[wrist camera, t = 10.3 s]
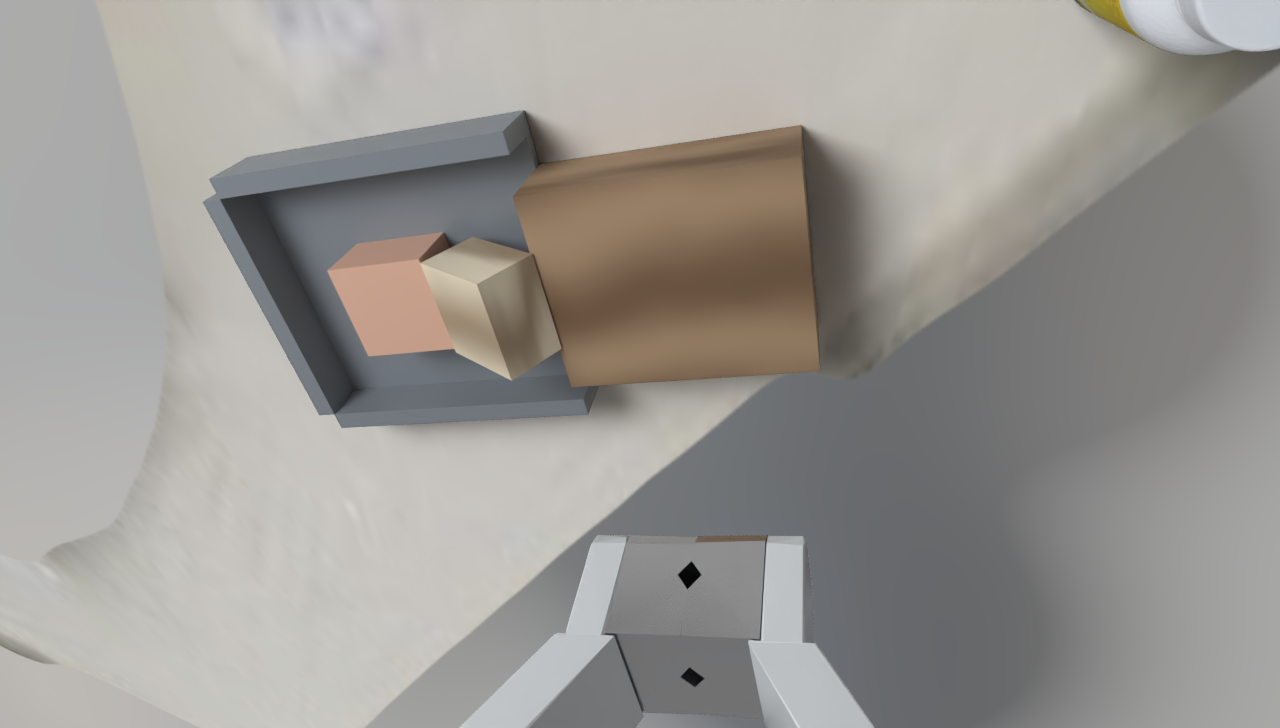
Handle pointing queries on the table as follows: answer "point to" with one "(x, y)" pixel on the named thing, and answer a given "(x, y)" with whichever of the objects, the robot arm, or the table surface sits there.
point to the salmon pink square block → (392, 295)
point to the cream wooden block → (493, 305)
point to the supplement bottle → (1195, 23)
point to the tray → (374, 211)
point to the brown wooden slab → (677, 259)
